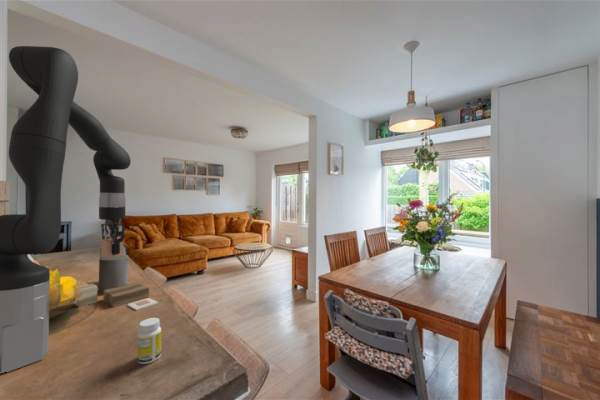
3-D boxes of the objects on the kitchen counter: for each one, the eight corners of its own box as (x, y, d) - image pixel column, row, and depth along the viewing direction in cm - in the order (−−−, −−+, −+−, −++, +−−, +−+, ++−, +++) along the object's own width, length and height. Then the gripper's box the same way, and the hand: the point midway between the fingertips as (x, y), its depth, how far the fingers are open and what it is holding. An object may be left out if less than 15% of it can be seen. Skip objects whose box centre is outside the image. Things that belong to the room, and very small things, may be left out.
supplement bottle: (156, 349, 60) (157, 314, 60) (164, 357, 57) (165, 320, 57) (134, 359, 56) (134, 322, 56) (141, 367, 53) (141, 329, 53)
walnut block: (148, 298, 92) (148, 288, 93) (113, 308, 84) (114, 296, 84) (136, 292, 99) (137, 282, 99) (103, 300, 90) (103, 290, 90)
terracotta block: (123, 255, 87) (123, 238, 87) (106, 258, 83) (106, 240, 83) (117, 253, 90) (117, 237, 90) (101, 256, 86) (101, 239, 86)
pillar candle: (92, 292, 97) (93, 255, 98) (117, 284, 107) (117, 250, 107) (109, 295, 94) (110, 257, 95) (133, 287, 104) (134, 252, 104)
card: (158, 303, 87) (158, 301, 87) (136, 310, 81) (136, 308, 81) (148, 299, 91) (148, 297, 91) (127, 305, 85) (127, 303, 85)
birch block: (97, 302, 88) (97, 286, 88) (78, 307, 83) (79, 290, 84) (92, 299, 90) (92, 283, 91) (74, 304, 86) (74, 287, 86)
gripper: (91, 205, 87) (92, 252, 87) (107, 206, 79) (107, 258, 80) (116, 205, 94) (116, 249, 94) (133, 206, 86) (133, 254, 86)
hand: (112, 253), depth 87 cm, fingers closed on terracotta block, 5 cm apart
